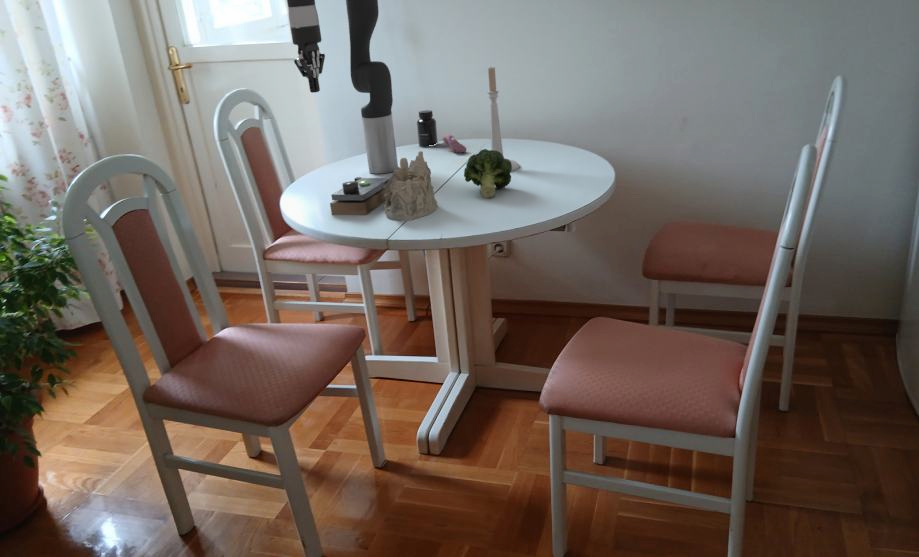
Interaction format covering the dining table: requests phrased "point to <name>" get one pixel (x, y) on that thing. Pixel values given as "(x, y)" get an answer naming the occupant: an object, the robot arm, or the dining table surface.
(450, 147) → the pink shoe
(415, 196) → the miniature castle
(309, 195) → the dining table surface
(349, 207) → the brown boxy piece
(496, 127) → the candlestick
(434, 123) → the supplement bottle
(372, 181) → the plate
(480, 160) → the vegetable
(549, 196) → the dining table surface
